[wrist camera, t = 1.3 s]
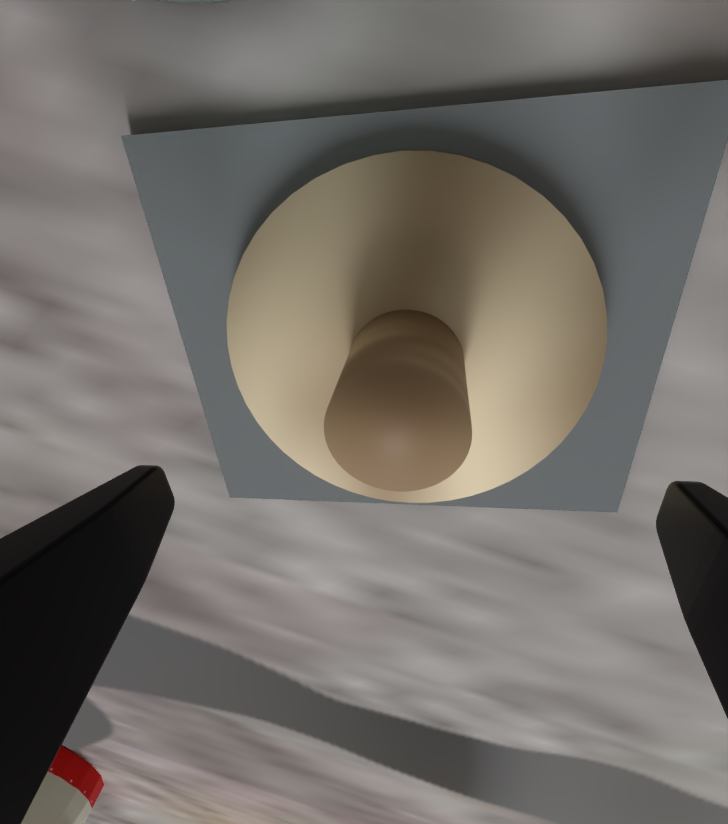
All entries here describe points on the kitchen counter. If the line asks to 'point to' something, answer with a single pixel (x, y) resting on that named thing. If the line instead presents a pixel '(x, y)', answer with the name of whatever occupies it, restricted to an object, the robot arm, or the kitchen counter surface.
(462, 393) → the lid
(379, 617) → the kitchen counter surface
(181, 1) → the bowl
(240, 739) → the kitchen counter surface
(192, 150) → the mat
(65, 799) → the kitchen timer
